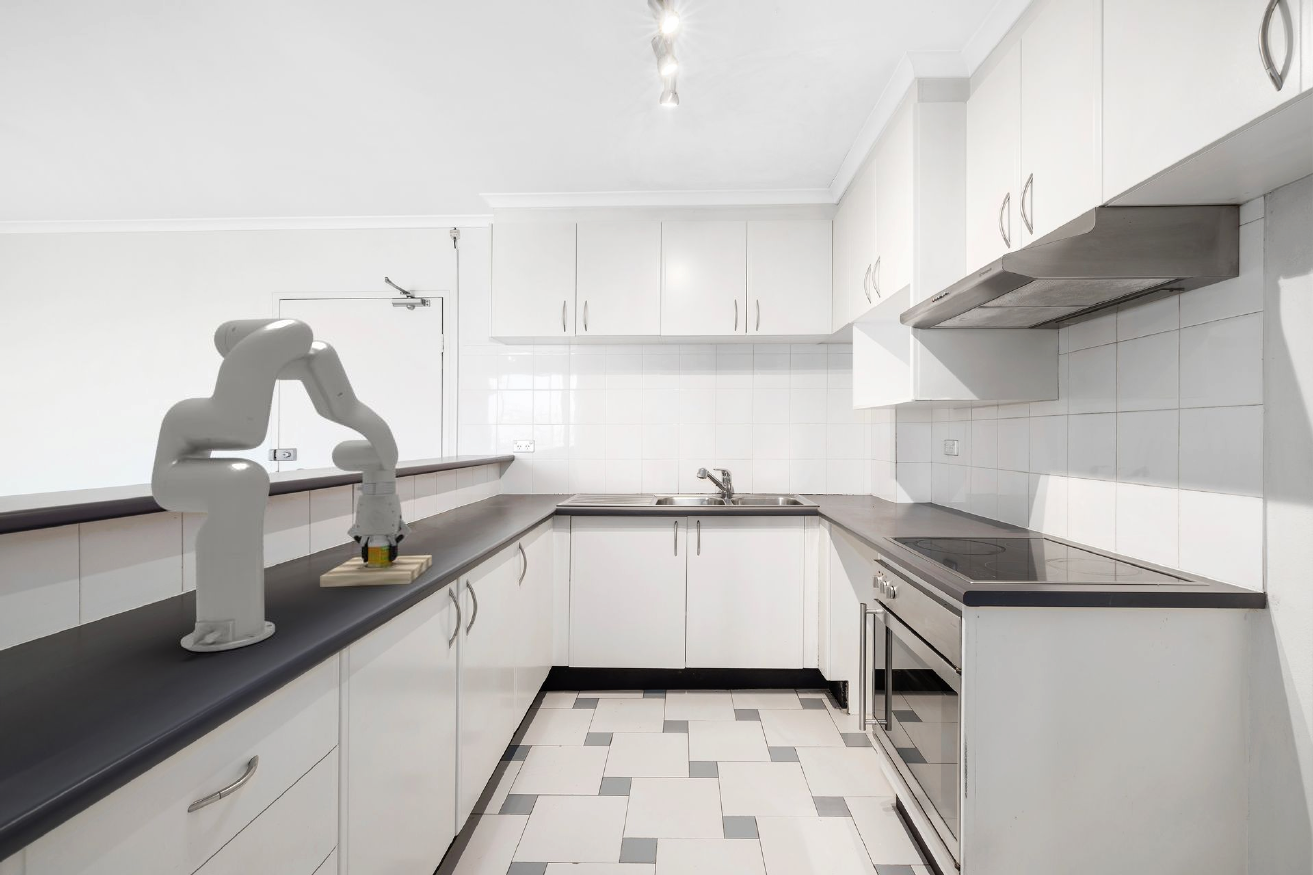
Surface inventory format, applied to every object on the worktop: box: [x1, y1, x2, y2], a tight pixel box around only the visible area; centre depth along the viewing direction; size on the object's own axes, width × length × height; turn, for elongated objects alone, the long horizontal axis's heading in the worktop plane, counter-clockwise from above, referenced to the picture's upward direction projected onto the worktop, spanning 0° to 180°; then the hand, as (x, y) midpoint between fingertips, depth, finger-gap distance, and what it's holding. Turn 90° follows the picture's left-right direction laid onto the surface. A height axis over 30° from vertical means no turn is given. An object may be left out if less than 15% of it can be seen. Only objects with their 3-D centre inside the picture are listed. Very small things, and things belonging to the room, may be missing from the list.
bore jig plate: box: [319, 554, 433, 588], centre depth 145 cm, size 20×20×2 cm
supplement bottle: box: [368, 535, 392, 568], centre depth 144 cm, size 5×5×10 cm
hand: (379, 560), depth 144 cm, fingers closed on supplement bottle, 5 cm apart
